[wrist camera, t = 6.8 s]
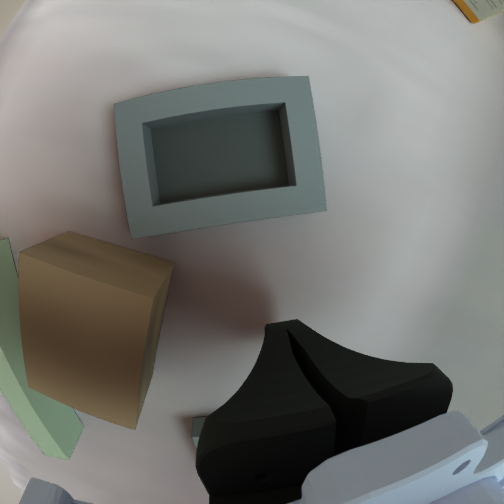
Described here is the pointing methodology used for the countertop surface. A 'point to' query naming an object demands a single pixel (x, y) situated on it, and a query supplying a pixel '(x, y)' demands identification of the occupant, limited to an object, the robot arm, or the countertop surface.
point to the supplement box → (480, 8)
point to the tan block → (91, 323)
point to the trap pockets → (184, 197)
